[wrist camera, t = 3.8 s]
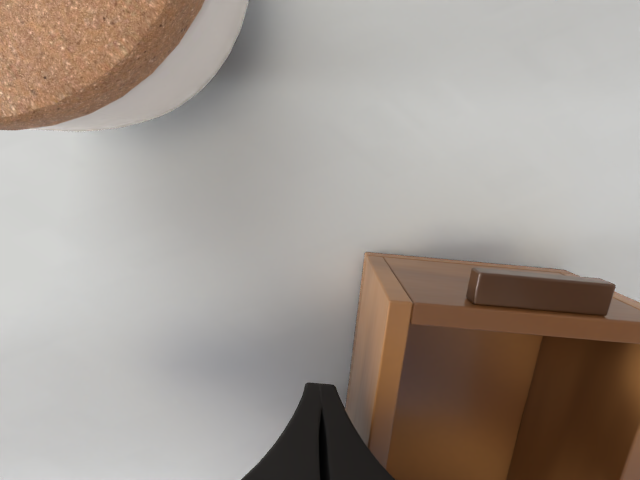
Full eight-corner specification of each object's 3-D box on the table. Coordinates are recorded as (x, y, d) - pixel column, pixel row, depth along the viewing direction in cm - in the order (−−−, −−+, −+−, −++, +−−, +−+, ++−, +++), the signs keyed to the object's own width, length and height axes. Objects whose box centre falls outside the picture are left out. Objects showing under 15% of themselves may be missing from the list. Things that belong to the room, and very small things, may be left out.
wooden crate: (503, 503, 18) (581, 647, 13) (334, 490, 18) (340, 631, 13) (571, 247, 15) (710, 294, 10) (367, 229, 15) (393, 267, 9)
